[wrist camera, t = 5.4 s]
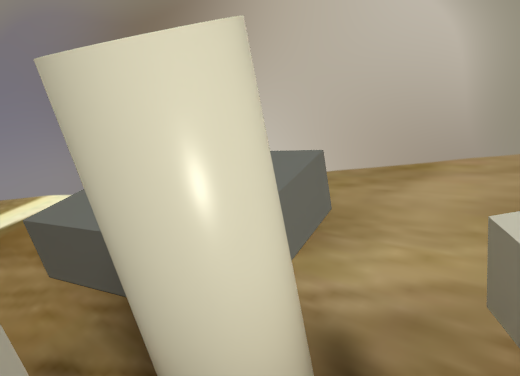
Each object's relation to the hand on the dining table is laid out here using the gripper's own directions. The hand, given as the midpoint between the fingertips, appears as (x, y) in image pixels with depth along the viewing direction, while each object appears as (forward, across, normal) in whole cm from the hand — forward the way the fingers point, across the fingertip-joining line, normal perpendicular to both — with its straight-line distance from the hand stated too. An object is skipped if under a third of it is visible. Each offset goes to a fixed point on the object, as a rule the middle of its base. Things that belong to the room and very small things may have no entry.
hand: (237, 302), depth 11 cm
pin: (0, 0, -8) cm, 8 cm away
